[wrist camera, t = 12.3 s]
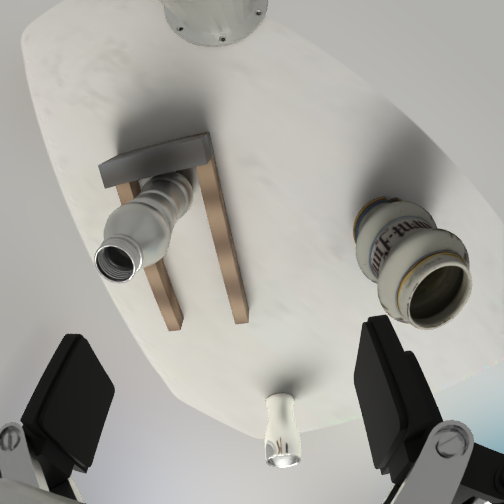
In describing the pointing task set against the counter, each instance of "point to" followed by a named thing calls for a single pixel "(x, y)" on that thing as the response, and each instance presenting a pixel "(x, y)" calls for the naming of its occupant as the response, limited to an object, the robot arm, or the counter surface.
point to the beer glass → (281, 432)
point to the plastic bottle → (143, 227)
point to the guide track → (202, 157)
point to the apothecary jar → (412, 263)
